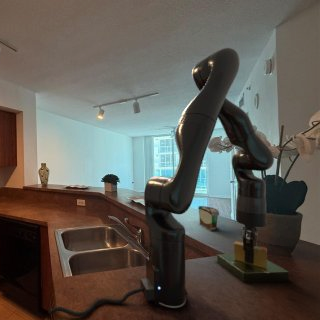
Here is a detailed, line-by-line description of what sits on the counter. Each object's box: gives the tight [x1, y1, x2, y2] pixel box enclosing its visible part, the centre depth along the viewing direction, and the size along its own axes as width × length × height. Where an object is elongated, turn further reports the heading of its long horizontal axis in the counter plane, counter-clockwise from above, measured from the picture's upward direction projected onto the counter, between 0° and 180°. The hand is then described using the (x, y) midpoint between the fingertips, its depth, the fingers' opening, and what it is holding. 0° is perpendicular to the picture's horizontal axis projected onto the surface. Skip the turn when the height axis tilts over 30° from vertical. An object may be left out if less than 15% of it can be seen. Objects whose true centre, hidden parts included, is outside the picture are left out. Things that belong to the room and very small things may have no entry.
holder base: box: [216, 253, 290, 284], centre depth 64 cm, size 14×12×3 cm
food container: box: [198, 205, 220, 232], centre depth 103 cm, size 12×6×10 cm, turn 179°
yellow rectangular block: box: [233, 240, 268, 269], centre depth 64 cm, size 8×3×6 cm, turn 45°
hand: (249, 260), depth 64 cm, fingers closed on yellow rectangular block, 3 cm apart
